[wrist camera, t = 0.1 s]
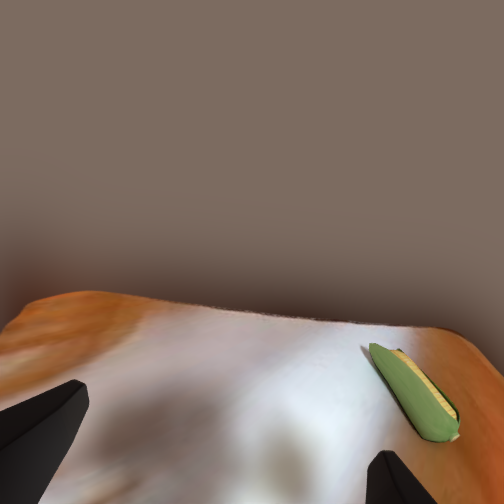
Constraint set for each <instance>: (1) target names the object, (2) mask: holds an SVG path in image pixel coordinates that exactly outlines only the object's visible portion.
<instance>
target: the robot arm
mask: <svg viewBox="0 0 504 504" xmlns="http://www.w3.org/2000/svg"><path fill="white" fill-rule="evenodd" d="M88 407H89V397H88V391H87V386H86V384H85V383H83V382H80V381H78V380H75V379H74V380H70V381H68V382H66V383H64V384H62V385H59V386H57V387H55V388H53V389H50V390H48V391H46V392H44V393H41V394H39V395H37V396H35V397H32V398H30V399H28V400H25V401H23V402H21V403H19V404H16V405H14V406H12V407H9V408H7V409H4V410H2V411H0V504H38V502H39V501H40V499H41V497H42V495H43V493H44V492H45V490H46V488H47V486H48V485H49V483H50V481H51V479H52V478H53V476H54V474H55V472H56V471H57V469H58V467H59V466H60V464H61V462H62V460H63V459H64V457H65V455H66V454H67V452H68V450H69V448H70V447H71V445H72V443H73V441H74V439H75V436H76V434H77V432H78V429H79V427H80V425H81V423H82V420H83V418H84V416H85V414H86V412H87V410H88ZM365 504H437V502H436V501H435V500H434V499H433V498H432V496H431V495H430V494H429V493H428V492H427V490H426V489H425V488H424V487H423V486H422V484H421V483H420V482H419V481H418V480H417V478H416V477H415V476H414V475H413V474H412V472H411V471H410V470H409V469H408V468H407V466H406V465H405V464H404V463H403V462H402V460H401V459H400V458H399V457H398V456H397V454H396V453H395V452H394V451H391V450H382V451H380V452H379V453H378V454H377V456H376V457H375V458H374V459H373V461H372V462H371V463H370V464H369V466H368V470H367V488H366V502H365Z"/></svg>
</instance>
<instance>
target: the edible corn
mask: <svg viewBox="0 0 504 504" xmlns="http://www.w3.org/2000/svg"><path fill="white" fill-rule="evenodd" d="M369 351H370V353H371V355H372V357H373V358H372V359H373V361H374V362H375V365H376V366H377V368H378V369H379V370H380V372H381V373H382V375H383V376H384V378H385V379H386V381H387V382H388V384H389V386H390V387H391V389H392V391H393V392H394V394H395V396H396V398H397V399H398V401H399V403H400V404H401V406H402V408H403V409H404V411H405V413H406V415H407V416H408V418H409V419H410V421H411V422H412V424H413V425H414V427H415V429H416V430H417V431H418V433H419V434H420V435H421V437H422V438H423V439H425V440H428V441H432V442H435V443H438V442H446V441H450V442H453V441H455V440H456V439H457V438H458V437H459V433H458V432H457V431H458V428H459V425H460V415H459V412H458V410H457V408H456V407H455V405H454V403H453V402H452V401H451V400H450V399H449V398H448V397H447V396H446V394H445V393H444V392H443V391H442V390H441V389H440V388H439V387H438V386H437V385H436V384H435V383H434V382H433V381H432V380H431V379H430V378H429V377H428V376H427V375H426V374H425V373H424V372H423V371H422V370H421V369H420V368H419V367H418V366H417V365H416V364H415V363H414V362H413V361H412V360H411V359H410V358H409V357H408V356H407V355H406V354H405V353H404V352H403V351H402V350H400V349H397V350H388V349H386V348H384V347H382V346H380V345H378V344H376V343H369Z"/></svg>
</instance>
